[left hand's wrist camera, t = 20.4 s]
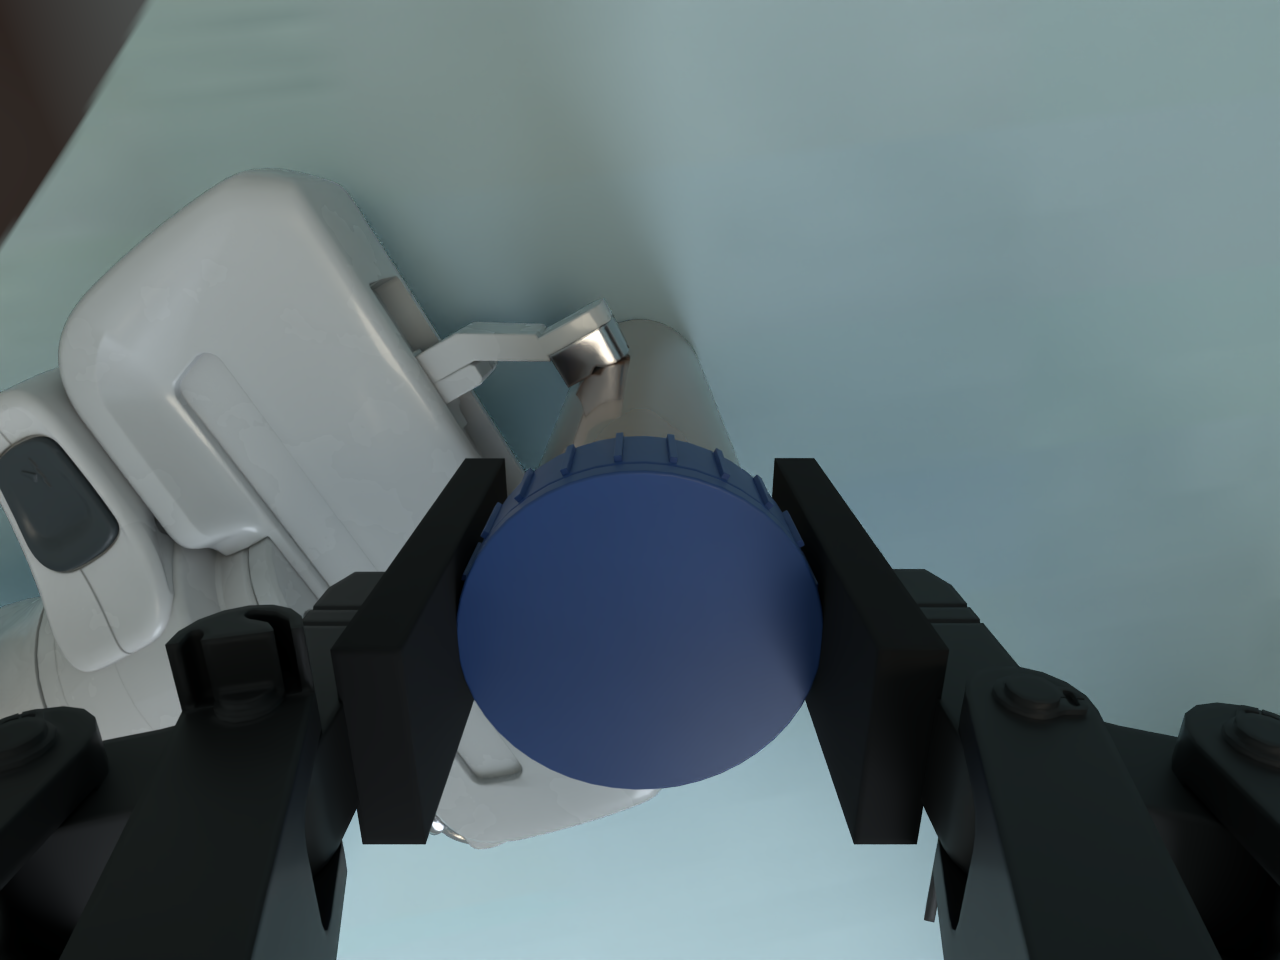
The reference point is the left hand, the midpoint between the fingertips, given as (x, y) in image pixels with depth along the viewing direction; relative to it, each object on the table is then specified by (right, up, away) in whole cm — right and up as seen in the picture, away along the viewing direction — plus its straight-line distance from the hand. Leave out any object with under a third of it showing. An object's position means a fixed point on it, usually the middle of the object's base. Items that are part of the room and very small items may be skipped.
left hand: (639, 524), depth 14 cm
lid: (0, -1, -4) cm, 4 cm away
